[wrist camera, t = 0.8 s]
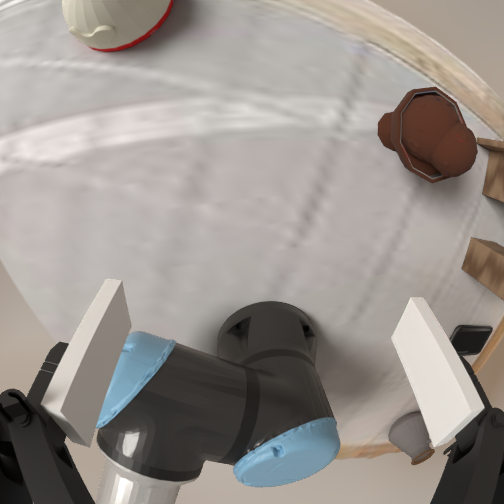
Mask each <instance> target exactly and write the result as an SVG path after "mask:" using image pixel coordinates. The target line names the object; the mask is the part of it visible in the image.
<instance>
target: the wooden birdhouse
mask: <svg viewBox="0 0 504 504" xmlns="http://www.w3.org/2000/svg"><path fill="white" fill-rule="evenodd" d="M477 144H479V145H481V146H483V147H485V148H487V149H489V150H490V153H489V160H488V166H487V172H486V178H485V183H484V188H483V193H482V194H484V195H487V196H489V197H492V198H494V199H497V200H499V201H502V202H504V142H502V141H496V140H490V139H484V138H477Z"/></svg>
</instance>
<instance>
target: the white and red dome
mask: <svg viewBox="0 0 504 504" xmlns="http://www.w3.org/2000/svg"><path fill="white" fill-rule="evenodd" d="M172 5H173V0H62V8H63V13H64V18H65V20H66V23H67V25H68V27H69V31H70V32H71V33H72V34H73V35H74V36H75V37H76V39H77V40H78V41H80V42H81V43H83V44H85V45H86V46H88V47H90V48H91V49H93V50H98V51H103V52H111V51H120V50H123V49H126V48H129V47H132V46H135V45H136V44H138V43H140V42H142V41H143V40H145V39H147V38H148V37H149V36H151V35H152V34H153V33H154V32H155V31H156V30H157V29H159V28H160V26H161V25H162V24H163V22H164V21H165V20H166V18H167V17H168V15H169V13H170V10H171V8H172Z"/></svg>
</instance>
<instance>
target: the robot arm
mask: <svg viewBox="0 0 504 504" xmlns="http://www.w3.org/2000/svg"><path fill="white" fill-rule="evenodd" d="M130 329H131V321H130V317H129V312H128V308H127V303H126V298H125V293H124V288H123V283H122V280H116V279H106V280H105V282H104V283H103V285H102V287H101V288H100V290H99V292H98V293H97V295H96V297H95V298H94V300H93V302H92V304H91V305H90V307H89V309H88V311H87V312H86V314H85V316H84V318H83V319H82V321H81V323H80V325H79V327H78V329H77V330H76V332H75V334H74V336H73V338H72V340H71V342H70V344H68V343H63V342H59V343H58V344H56V345H55V346H54V347H53V348H52V349H51V350H50V352H49V354H48V355H47V357H46V359H45V362H44V363H43V365H42V367H41V371H39V373H38V375H37V377H36V379H35V381H34V383H33V385H32V387H31V389H30V391H29V393H28V395H27V397H25V395H24V394H23V393H22V392H20V391H19V390H16V389H8V390H6V391H4V392H2V393H1V394H0V504H33V503H34V504H95V502H94V500H93V499H92V497H91V495H90V493H89V492H88V490H87V488H86V486H85V484H84V482H83V480H82V478H81V476H80V474H79V472H78V470H77V468H76V466H75V464H74V462H73V459H72V457H71V455H70V453H69V450H68V448H67V446H66V444H65V443H64V441H65V438H66V435H67V437H68V438H69V439H70V440H71V441H72V442H74V443H78V444H81V445H84V446H87V447H90V445H91V442H92V438H93V435H94V432H95V428H99V430H98V434H97V438H96V443H97V447H98V448H99V450H100V451H101V453H102V454H103V456H104V457H105V458H106V461H105V465H104V469H103V473H102V477H101V482H100V486H99V491H98V495H97V500H96V504H175V501H176V498H177V495H178V492H179V489H180V486H181V485H183V484H186V483H190V482H193V481H195V480H196V479H197V478H198V477H199V475H200V473H201V470H202V467H203V464H204V462H205V461H206V460H208V461H213V462H218V463H224V464H229V465H233V466H234V468H233V472H234V474H235V475H236V478H237V480H238V481H239V482H241V483H243V484H245V485H247V486H252V487H272V486H280V485H284V484H288V483H292V482H296V481H298V480H301V479H304V478H306V477H309V476H311V475H313V474H315V473H316V472H318V471H320V470H321V469H323V468H325V467H326V466H327V465H328V464H329V463H331V462H332V461H333V459H334V458H335V457H336V455H337V454H338V452H339V449H340V439H339V435H338V431H337V428H336V426H337V422H336V420H335V418H334V416H333V413H332V410H331V408H330V405H329V402H328V400H327V397H326V394H325V392H324V389H323V387H322V384H321V381H320V379H319V376H318V374H317V371H316V368H315V357H316V346H317V340H316V334H315V331H314V329H313V326H312V324H311V322H310V320H309V319H308V317H307V316H306V315H305V314H304V313H303V312H302V311H301V310H299V309H298V308H296V307H294V306H292V305H289V304H286V303H282V302H260V303H255V304H251V305H249V306H246V307H244V308H242V309H240V310H238V311H237V312H235V313H234V314H232V315H231V316H230V317H229V318H228V319H227V320H226V321H225V323H224V324H223V326H222V327H221V329H220V332H219V335H218V357H216V356H213V355H210V354H207V353H204V352H201V351H198V350H195V349H192V348H190V347H187V346H184V345H181V344H179V343H176V341H174V340H167V339H164V338H161V337H158V336H155V335H152V334H149V333H146V332H142V331H137V332H133V333H131V334H129V331H130ZM128 334H129V335H128ZM391 339H392V342H393V344H394V346H395V348H396V351H397V353H398V355H399V358H400V360H401V362H402V365H403V367H404V370H405V372H406V374H407V377H408V379H409V382H410V384H411V387H412V389H413V392H414V395H415V397H416V400H417V402H418V405H419V408H420V410H421V413H422V416H423V419H424V421H425V424H426V427H427V430H428V433H429V435H430V439H431V441H432V444H433V447H436V446H439V445H443V444H445V443H447V442H449V441H450V440H451V439H452V438H453V437H454V436H455V438H456V442H454V443H453V444H452V445H451V446H450V447H448V448H447V449H446V450H445V451H444V453H443V454H444V455H445V454H446V453H447V452H449V451H450V450H451V452H450V454H448V455H447V456H448V457H449V458H448V461H447V463H446V466H445V469H444V472H443V474H442V477H441V480H440V482H439V484H438V487H437V489H436V492H435V494H434V496H433V498H432V501H431V503H430V504H504V412H503V411H502V410H501V409H499V408H492V406H491V405H490V403H489V400H488V398H487V396H486V394H485V392H484V390H483V388H482V386H481V384H480V382H478V379H477V377H476V375H474V371H473V369H472V367H471V366H470V364H469V363H468V362H467V361H466V360H465V359H464V358H463V357H462V356H458V354H457V353H456V351H455V349H454V347H453V346H452V344H451V342H450V340H449V339H448V337H447V335H446V334H445V332H444V330H443V329H442V327H441V325H440V324H439V322H438V320H437V319H436V317H435V315H434V314H433V312H432V311H431V309H430V307H429V306H428V304H427V303H426V301H425V300H424V298H423V297H411V298H410V300H409V302H408V304H407V307H406V309H405V311H404V313H403V315H402V317H401V319H400V321H399V323H398V325H397V327H396V329H395V331H394V333H393V335H392V337H391ZM32 500H33V501H32Z"/></svg>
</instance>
